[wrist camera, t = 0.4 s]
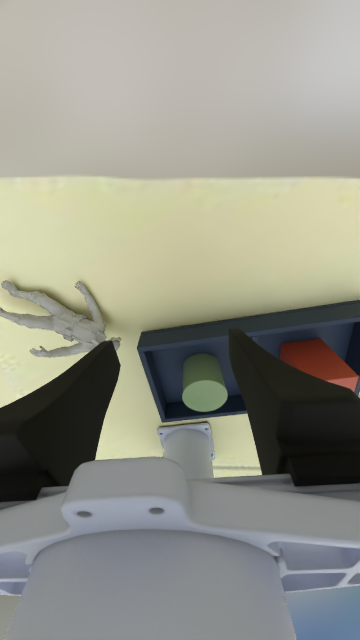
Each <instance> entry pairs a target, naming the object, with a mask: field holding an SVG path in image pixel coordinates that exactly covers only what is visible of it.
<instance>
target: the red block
mask: <svg viewBox="0 0 360 640" xmlns="http://www.w3.org/2000/svg"><path fill="white" fill-rule="evenodd" d="M280 360H282V361H283V362H285V363H287V364H289V365H291V366H293V367H295V368H297V369H299V370H301V371H303V372H305V373H308V374H310V375H312V376H315V377H317V378H320V379H323V380H325V381H328V382H331V383H334V384H337V385H340V386H344V387H347V388H350V389H351V390H352V391H353V392H354V391H355V387H356V384H357V381H358V378H359V376H358V375H357V374H356V373H355V372H354V371H353V370H352V369H351V368H350V367H349V366H348V365H347V364H346V363H345V362H344V361H343V360H342V359H341V358H340V357H339V356H338V355H337V354H336V353H335V352H334V351H333V350H332V349H331V348H330V347H329V346H328V345H327V344H326V343H325V342H324V341H323V340H322V339H321V338H319V339H311V340H304V341H296V342H289V343H281V349H280Z"/></svg>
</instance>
